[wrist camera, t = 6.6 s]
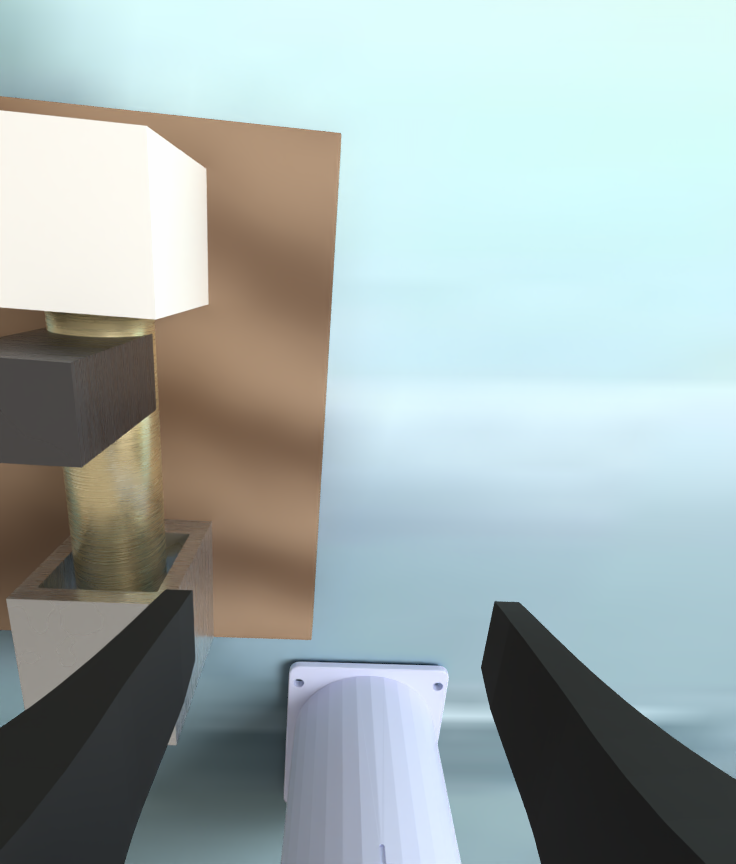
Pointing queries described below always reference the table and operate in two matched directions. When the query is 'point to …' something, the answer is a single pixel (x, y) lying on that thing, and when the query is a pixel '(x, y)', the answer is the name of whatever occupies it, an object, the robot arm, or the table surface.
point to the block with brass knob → (93, 438)
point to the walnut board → (226, 375)
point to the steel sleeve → (103, 612)
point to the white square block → (99, 219)
